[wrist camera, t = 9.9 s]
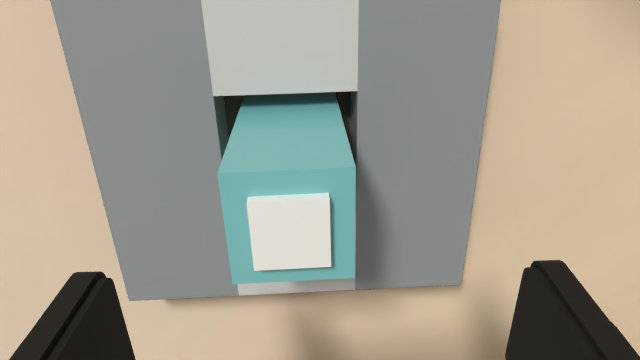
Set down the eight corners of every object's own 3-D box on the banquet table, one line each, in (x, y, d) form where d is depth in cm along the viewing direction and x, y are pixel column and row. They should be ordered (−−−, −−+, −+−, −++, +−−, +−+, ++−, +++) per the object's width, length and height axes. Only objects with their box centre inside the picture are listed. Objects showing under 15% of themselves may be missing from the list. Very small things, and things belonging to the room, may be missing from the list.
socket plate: (481, -33, 19) (505, -31, 17) (447, 255, 25) (461, 284, 23) (75, -22, 18) (45, -18, 16) (143, 269, 24) (129, 300, 22)
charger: (334, 92, 21) (357, 173, 13) (335, 173, 22) (356, 285, 15) (244, 95, 21) (214, 179, 13) (252, 177, 22) (230, 292, 15)
